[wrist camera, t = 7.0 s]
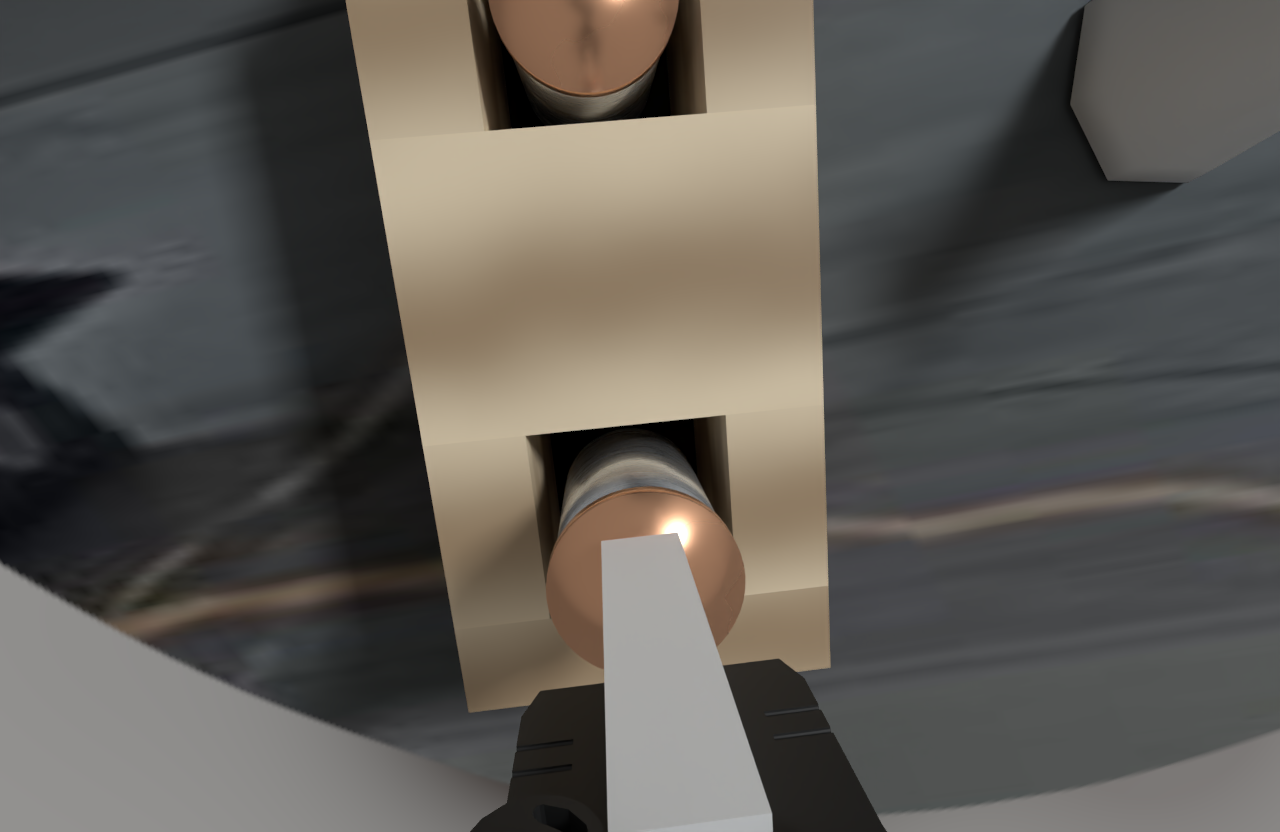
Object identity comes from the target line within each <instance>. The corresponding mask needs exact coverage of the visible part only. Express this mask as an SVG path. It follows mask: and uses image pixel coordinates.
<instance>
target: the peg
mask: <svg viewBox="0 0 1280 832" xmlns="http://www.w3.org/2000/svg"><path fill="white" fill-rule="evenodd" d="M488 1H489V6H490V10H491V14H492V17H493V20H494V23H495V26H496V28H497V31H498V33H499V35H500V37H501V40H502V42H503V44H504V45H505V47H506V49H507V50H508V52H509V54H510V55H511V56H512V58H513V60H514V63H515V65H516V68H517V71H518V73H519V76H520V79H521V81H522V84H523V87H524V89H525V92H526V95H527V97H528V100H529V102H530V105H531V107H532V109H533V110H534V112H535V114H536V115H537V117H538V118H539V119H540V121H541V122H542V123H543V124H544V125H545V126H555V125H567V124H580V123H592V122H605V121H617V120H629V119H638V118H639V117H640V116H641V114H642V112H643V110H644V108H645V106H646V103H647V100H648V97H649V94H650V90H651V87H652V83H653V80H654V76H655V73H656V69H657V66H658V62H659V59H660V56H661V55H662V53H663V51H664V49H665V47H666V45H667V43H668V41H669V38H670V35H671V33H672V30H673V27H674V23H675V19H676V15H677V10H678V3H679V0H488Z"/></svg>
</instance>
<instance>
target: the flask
mask: <svg viewBox="0 0 1280 832" xmlns="http://www.w3.org/2000/svg"><path fill="white" fill-rule="evenodd" d="M1070 105H1071V107H1072V109H1073V111H1074V113H1075V115H1076V117H1077V119H1078V121H1079V123H1080V125H1081V127H1082V129H1083V131H1084V133H1085V135H1086V137H1087V139H1088V141H1089V144H1090V146H1091V148H1092V150H1093V152H1094V154H1095V156H1096V158H1097V160H1098V162H1099V164H1100V166H1101V168H1102V170H1103V172H1104V174H1105V176H1106V178H1107V180H1108V181H1142V182H1176V183H1188V182H1190V181H1192V180H1194V179H1196V178H1198V177H1200V176H1201V175H1203V174H1205V173H1207V172H1209V171H1211V170H1212V169H1214V168H1216V167H1218V166H1219V165H1221V164H1223V163H1225V162H1226V161H1228V160H1230V159H1232V158H1233V157H1235V156H1237V155H1238V154H1240V153H1242V152H1244V151H1245V150H1247V149H1249V148H1251V147H1252V146H1254V145H1256V144H1257V143H1259V142H1261V141H1263V140H1264V139H1266V138H1268V137H1270V136H1271V135H1273V134H1275V133H1276V132H1278V131H1280V0H1092V1H1090V2H1089V3H1088V4H1086V5H1085V9H1084V16H1083V22H1082V29H1081V36H1080V42H1079V49H1078V56H1077V62H1076V69H1075V75H1074V82H1073V89H1072V95H1071V102H1070Z"/></svg>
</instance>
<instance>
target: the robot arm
mask: <svg viewBox="0 0 1280 832" xmlns="http://www.w3.org/2000/svg"><path fill="white" fill-rule="evenodd" d="M601 557H602V600H603V643H604V683H599V684H591V685H583V686H575V687H567V688H559V689H551V690H543V691H540V692H539V693H538V694H537V696H536V697H535V699H534V700H533V702H532V703H531V704H530V706H529V707H528V709H527V710H526V711H525V713H524V714H523V716H522V717H521V723H520V729H519V735H518V741H517V752H516V753H515V759H514V764H513V770H512V778H511V782H510V788H509V794H508V800H507V803H506V804H505V805H503V806H501V807H500V808H498V809H497V810H495V811H494V812H492V813H490V814H489V815H487V816H485V817H484V818H482V819H481V820H480V821H479V823H478V824H477V825H476V826H475V827H474V828H473V829H472V830H471V831H470V832H887V831H886V830H885V828H884V827H883V825H882V824H881V822H880V820H879V818H878V816H877V814H876V812H875V810H874V809H873V807H872V805H871V803H870V801H869V799H868V797H867V795H866V793H865V792H864V790H863V788H862V786H861V784H860V782H859V780H858V778H857V777H856V775H855V773H854V771H853V769H852V767H851V765H850V763H849V761H848V760H847V758H846V756H845V754H844V752H843V750H842V748H841V746H840V745H839V743H838V741H837V739H836V737H835V735H834V733H831V729H830V726H829V724H828V722H827V720H826V718H825V716H824V714H823V713H822V711H821V710H819V707H818V703H817V701H816V699H815V697H814V696H813V694H812V692H811V690H810V688H809V686H808V684H807V682H806V681H805V679H804V678H803V677H802V676H801V675H799V674H798V673H797V672H796V671H794V670H793V669H792V668H791V667H789V666H788V665H787V664H785V663H784V662H783V661H782V660H780V659H779V658H778V659H770V660H762V661H754V662H746V663H738V664H730V665H722V662H721V659H720V656H719V653H718V650H717V647H716V644H715V641H714V638H713V635H712V632H711V629H710V626H709V623H708V620H707V617H706V614H705V611H704V608H703V605H702V602H701V599H700V596H699V593H698V590H697V587H696V584H695V581H694V578H693V575H692V573H691V570H690V567H689V564H688V561H687V558H686V555H685V552H684V549H683V546H682V543H681V540H680V537H679V534H678V532H676V533H667V534H658V535H649V536H640V537H632V538H623V539H614V540H605V541H601Z"/></svg>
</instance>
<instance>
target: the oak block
mask: <svg viewBox="0 0 1280 832" xmlns="http://www.w3.org/2000/svg"><path fill="white" fill-rule="evenodd" d="M346 6H347V12H348V18H349V23H350V29H351V35H352V41H353V47H354V52H355V58H356V64H357V70H358V75H359V81H360V87H361V93H362V99H363V104H364V110H365V116H366V122H367V127H368V133H369V139H370V145H371V151H372V156H373V162H374V168H375V174H376V179H377V185H378V191H379V197H380V202H381V208H382V214H383V220H384V226H385V231H386V237H387V243H388V249H389V254H390V260H391V266H392V272H393V278H394V283H395V289H396V295H397V301H398V306H399V312H400V318H401V324H402V330H403V335H404V341H405V347H406V353H407V358H408V364H409V370H410V376H411V382H412V387H413V393H414V399H415V405H416V410H417V416H418V422H419V428H420V434H421V439H422V445H423V451H424V457H425V462H426V468H427V474H428V480H429V485H430V491H431V497H432V503H433V509H434V514H435V520H436V526H437V532H438V537H439V543H440V549H441V555H442V561H443V566H444V572H445V578H446V584H447V589H448V595H449V601H450V607H451V613H452V618H453V624H454V630H455V636H456V641H457V647H458V653H459V659H460V665H461V670H462V676H463V682H464V688H465V693H466V699H467V705H468V711H469V713H470V712H478V711H486V710H494V709H502V708H510V707H518V706H526V705H530V704H531V703H532V702H533V700H534V699H535V697H536V696H537V694H538V693H539V692H540V691H543V690H551V689H559V688H567V687H575V686H583V685H591V684H599V683H604V670H603V669H601V668H598V667H596V666H594V665H592V664H591V663H589V662H587V661H586V660H584V659H583V658H581V657H580V656H579V655H578V654H576V653H575V652H574V651H573V650H572V649H571V648H570V647H569V646H568V645H567V644H566V643H565V641H564V640H563V639H562V637H561V636H560V634H559V633H558V631H557V629H556V627H555V625H554V624H553V621H552V618H551V616H550V613H549V609H548V604H547V599H546V579H547V571H548V566H549V561H550V557H551V553H552V551H553V548H554V545H555V543H556V541H557V539H558V532H559V525H560V518H561V517H560V509H559V501H558V493H557V485H556V477H555V469H554V461H553V453H552V445H551V437H550V433H557V432H567V431H577V430H586V429H596V428H605V427H615V426H625V425H634V424H644V423H653V422H663V421H673V420H682V419H692V418H693V423H694V437H695V450H696V464H697V477H698V480H699V482H700V484H701V486H702V488H703V490H704V492H705V494H706V496H707V498H708V500H709V502H710V504H711V506H712V508H713V510H714V512H715V513H716V514H717V515H718V516H719V517H720V518H721V520H722V521H723V522H724V523H725V524H726V526H727V528H728V529H729V531H730V532H731V534H732V536H733V538H734V540H735V541H736V544H737V546H738V548H739V550H740V553H741V556H742V560H743V563H744V569H745V594H744V600H743V604H742V607H741V611H740V613H739V615H738V618H737V620H736V622H735V624H734V626H733V627H732V629H731V630H730V632H729V634H728V635H727V636H726V637H725V639H724V640H723V641H722V642H721V643H720V644H719V645H718V646H717V650H718V653H719V656H720V659H721V662H722V665H730V664H738V663H746V662H754V661H762V660H770V659H778V658H779V659H780V660H782V661H783V662H784V663H785V664H787V665H788V666H789V667H791V668H792V669H793V670H794V671H796V672H799V671H807V670H815V669H823V668H830V634H829V595H828V557H827V518H826V480H825V441H824V403H823V365H822V326H821V288H820V249H819V211H818V172H817V134H816V96H815V57H814V19H813V0H679V3H678V10H677V15H676V19H675V23H674V27H673V30H672V33H671V35H670V38H669V41H668V43H667V45H666V55H667V69H668V82H669V96H670V110H671V116H667V117H654V118H642V119H629V120H617V121H605V122H592V123H580V124H567V125H555V126H542V127H530V128H517V129H512V128H511V120H510V112H509V104H508V96H507V88H506V80H505V72H504V64H503V56H502V48H501V40H500V35H499V33H498V31H497V28H496V26H495V23H494V20H493V17H492V14H491V10H490V6H489V1H488V0H346Z"/></svg>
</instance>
